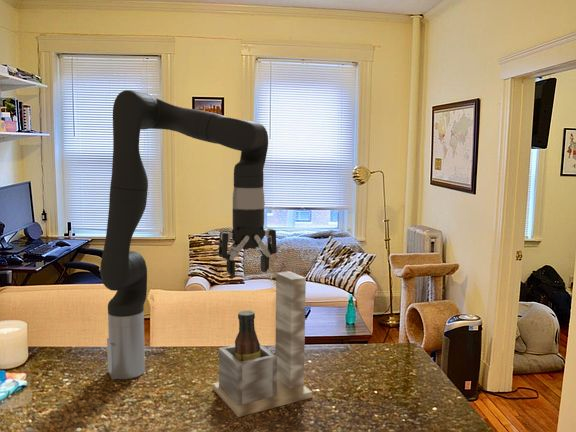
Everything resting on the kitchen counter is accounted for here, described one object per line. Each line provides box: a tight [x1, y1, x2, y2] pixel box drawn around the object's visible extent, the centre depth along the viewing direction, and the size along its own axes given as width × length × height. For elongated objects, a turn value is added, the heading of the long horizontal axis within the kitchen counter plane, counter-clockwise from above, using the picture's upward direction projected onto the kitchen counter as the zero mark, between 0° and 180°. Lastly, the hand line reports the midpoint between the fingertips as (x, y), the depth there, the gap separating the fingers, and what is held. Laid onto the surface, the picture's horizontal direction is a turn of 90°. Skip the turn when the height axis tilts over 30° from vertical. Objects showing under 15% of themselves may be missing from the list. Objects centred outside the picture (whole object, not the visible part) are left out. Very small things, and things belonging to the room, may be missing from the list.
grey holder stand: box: [212, 270, 313, 418], centre depth 125 cm, size 20×16×30 cm
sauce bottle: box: [234, 310, 261, 362], centre depth 124 cm, size 7×6×20 cm
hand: (248, 273), depth 121 cm, fingers open, 8 cm apart
